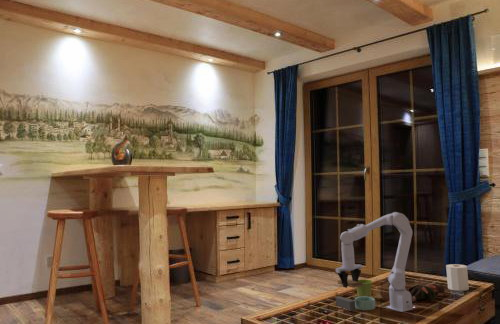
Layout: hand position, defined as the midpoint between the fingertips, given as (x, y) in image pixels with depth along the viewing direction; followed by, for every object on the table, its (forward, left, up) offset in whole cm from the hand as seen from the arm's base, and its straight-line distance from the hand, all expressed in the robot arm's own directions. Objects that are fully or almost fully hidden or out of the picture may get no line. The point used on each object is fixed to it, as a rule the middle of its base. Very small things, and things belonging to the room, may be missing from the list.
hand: (350, 286), depth 194 cm
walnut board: (0, 0, +1) cm, 1 cm away
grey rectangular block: (+1, +3, -10) cm, 11 cm away
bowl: (-3, -6, -10) cm, 12 cm away
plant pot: (+9, -17, -11) cm, 22 cm away
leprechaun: (-8, -39, -11) cm, 41 cm away
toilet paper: (-7, -69, -11) cm, 70 cm away
